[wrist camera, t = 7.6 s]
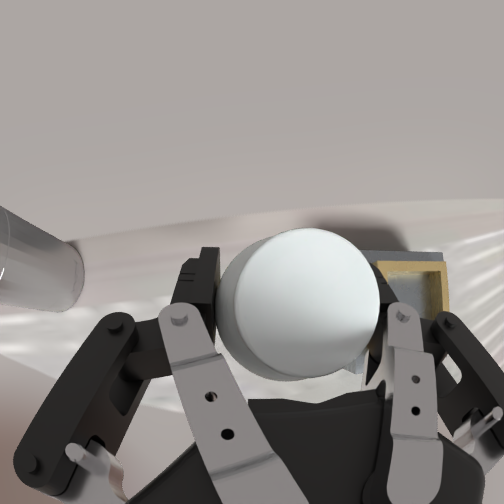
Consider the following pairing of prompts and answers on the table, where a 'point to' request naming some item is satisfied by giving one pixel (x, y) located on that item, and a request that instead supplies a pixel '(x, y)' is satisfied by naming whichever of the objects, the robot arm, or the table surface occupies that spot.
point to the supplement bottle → (297, 305)
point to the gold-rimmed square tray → (410, 284)
